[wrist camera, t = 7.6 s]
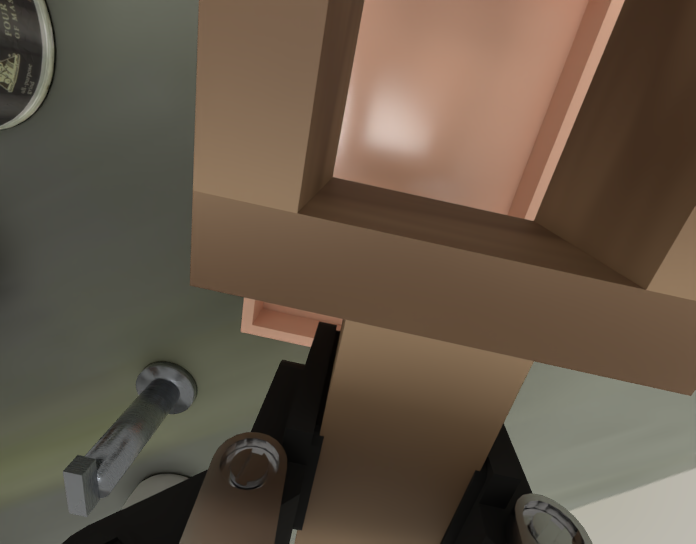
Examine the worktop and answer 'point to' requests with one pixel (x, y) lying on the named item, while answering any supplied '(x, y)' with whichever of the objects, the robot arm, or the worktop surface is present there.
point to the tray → (459, 109)
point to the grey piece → (127, 435)
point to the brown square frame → (443, 253)
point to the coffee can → (24, 59)
